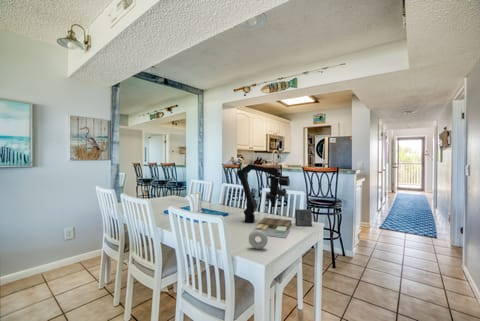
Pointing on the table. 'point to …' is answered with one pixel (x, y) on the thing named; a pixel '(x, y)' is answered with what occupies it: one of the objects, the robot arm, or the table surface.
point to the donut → (260, 234)
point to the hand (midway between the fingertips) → (273, 207)
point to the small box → (303, 217)
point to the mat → (272, 233)
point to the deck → (275, 223)
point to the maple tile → (262, 227)
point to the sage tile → (281, 229)
